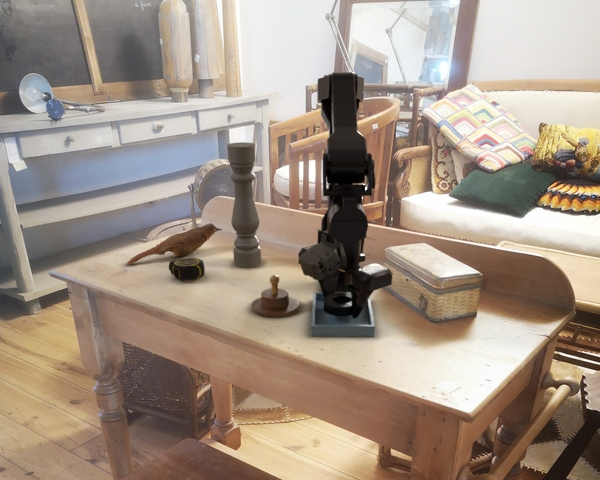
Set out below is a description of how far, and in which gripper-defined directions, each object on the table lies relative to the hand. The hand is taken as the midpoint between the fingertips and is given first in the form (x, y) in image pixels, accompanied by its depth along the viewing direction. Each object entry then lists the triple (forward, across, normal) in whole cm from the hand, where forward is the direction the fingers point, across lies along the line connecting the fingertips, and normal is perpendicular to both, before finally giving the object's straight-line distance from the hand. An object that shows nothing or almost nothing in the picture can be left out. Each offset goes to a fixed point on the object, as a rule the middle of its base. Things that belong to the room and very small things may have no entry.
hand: (341, 311), depth 108 cm
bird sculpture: (+2, -51, -6) cm, 52 cm away
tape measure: (+2, -37, -12) cm, 39 cm away
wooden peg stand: (+1, -11, -7) cm, 13 cm away
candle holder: (+2, -36, +3) cm, 36 cm away
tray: (+1, 0, 0) cm, 1 cm away
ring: (-1, 0, 0) cm, 1 cm away
